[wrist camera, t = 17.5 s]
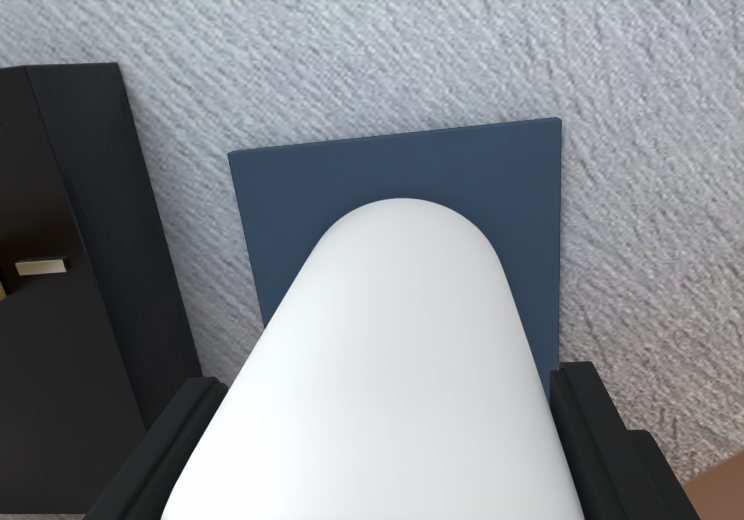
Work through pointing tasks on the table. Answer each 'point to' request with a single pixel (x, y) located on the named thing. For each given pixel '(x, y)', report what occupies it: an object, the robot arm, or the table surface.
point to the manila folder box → (2, 292)
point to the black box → (79, 289)
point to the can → (386, 389)
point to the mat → (424, 182)
